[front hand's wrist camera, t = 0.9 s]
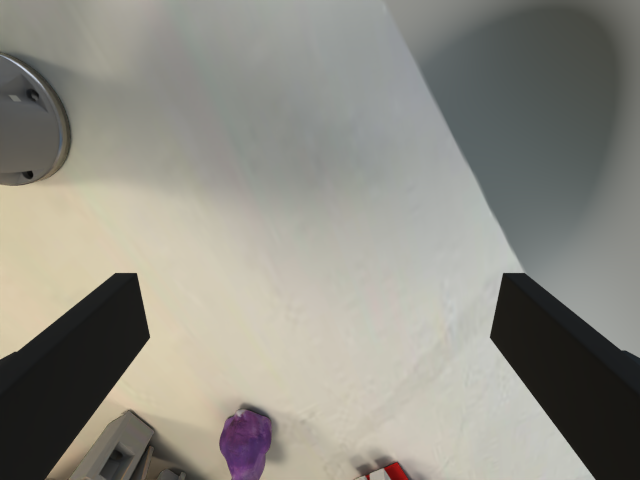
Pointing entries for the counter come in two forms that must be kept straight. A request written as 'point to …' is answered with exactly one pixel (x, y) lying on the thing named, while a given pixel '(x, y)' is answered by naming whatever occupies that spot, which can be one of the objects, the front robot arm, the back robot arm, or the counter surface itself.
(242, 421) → the figurine
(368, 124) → the counter surface
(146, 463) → the record crate
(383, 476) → the toy
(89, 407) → the front robot arm
